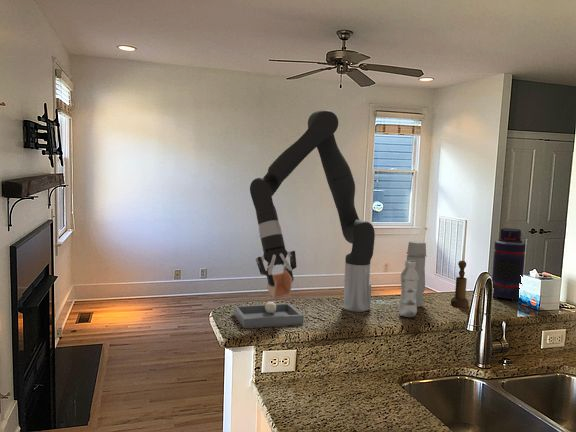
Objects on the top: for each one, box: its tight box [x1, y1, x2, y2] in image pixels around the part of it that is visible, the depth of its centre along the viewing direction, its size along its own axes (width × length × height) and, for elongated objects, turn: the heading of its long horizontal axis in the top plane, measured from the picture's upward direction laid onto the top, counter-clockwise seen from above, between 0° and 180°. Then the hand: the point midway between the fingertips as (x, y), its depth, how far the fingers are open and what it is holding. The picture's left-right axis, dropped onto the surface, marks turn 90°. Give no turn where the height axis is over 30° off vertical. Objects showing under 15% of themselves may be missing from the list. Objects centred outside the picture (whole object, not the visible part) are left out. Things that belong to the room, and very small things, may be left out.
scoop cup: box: [266, 267, 293, 300], centre depth 156 cm, size 6×6×8 cm
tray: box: [233, 302, 305, 329], centre depth 156 cm, size 20×15×3 cm
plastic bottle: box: [397, 260, 419, 318], centre depth 165 cm, size 6×7×20 cm
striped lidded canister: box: [491, 227, 526, 302], centre depth 199 cm, size 14×12×30 cm
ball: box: [264, 301, 277, 313], centre depth 161 cm, size 4×4×4 cm
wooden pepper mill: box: [450, 260, 470, 308], centre depth 183 cm, size 7×6×18 cm
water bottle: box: [406, 240, 428, 308], centre depth 181 cm, size 9×8×25 cm
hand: (281, 284), depth 154 cm, fingers closed on scoop cup, 6 cm apart
